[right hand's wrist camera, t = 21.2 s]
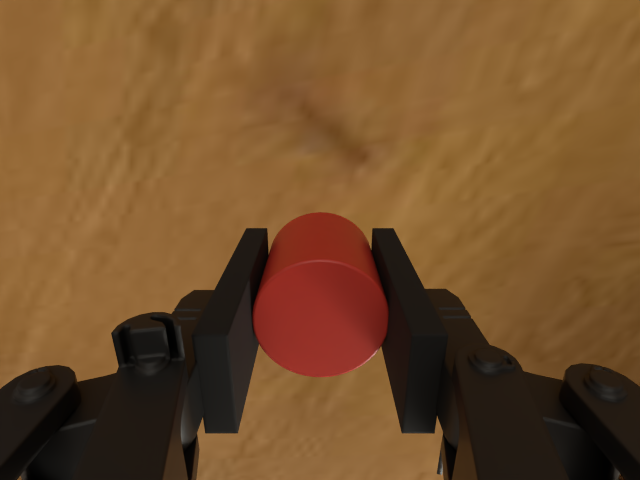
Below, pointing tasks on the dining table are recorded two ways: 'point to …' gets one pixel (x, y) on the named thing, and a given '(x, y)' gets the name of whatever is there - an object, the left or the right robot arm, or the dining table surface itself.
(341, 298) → the canister
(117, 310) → the dining table surface
